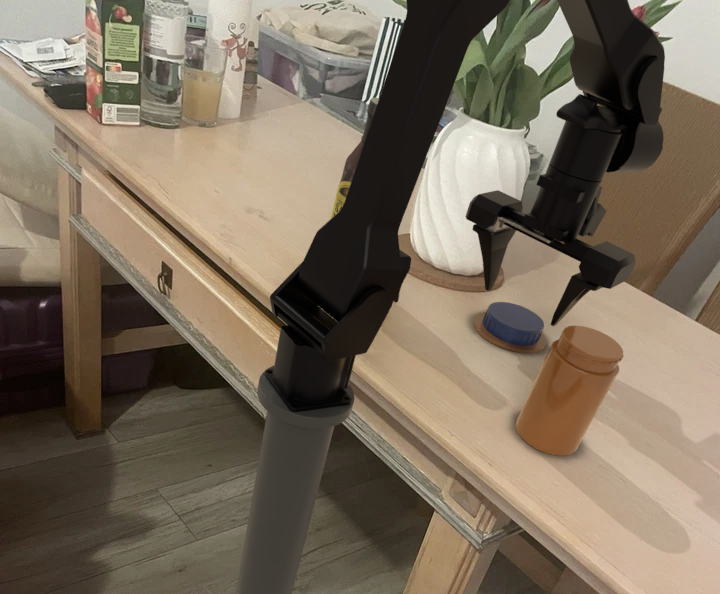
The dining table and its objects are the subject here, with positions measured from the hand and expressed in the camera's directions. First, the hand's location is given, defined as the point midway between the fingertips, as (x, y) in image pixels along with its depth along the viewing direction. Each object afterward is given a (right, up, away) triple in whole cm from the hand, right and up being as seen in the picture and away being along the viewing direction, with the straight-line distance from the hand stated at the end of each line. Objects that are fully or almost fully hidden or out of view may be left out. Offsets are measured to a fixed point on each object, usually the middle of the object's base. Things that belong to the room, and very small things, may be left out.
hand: (520, 306), depth 82 cm
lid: (0, -1, +1) cm, 2 cm away
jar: (-1, -16, -14) cm, 21 cm away
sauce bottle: (-21, +4, +4) cm, 22 cm away
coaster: (-1, -3, +2) cm, 4 cm away
